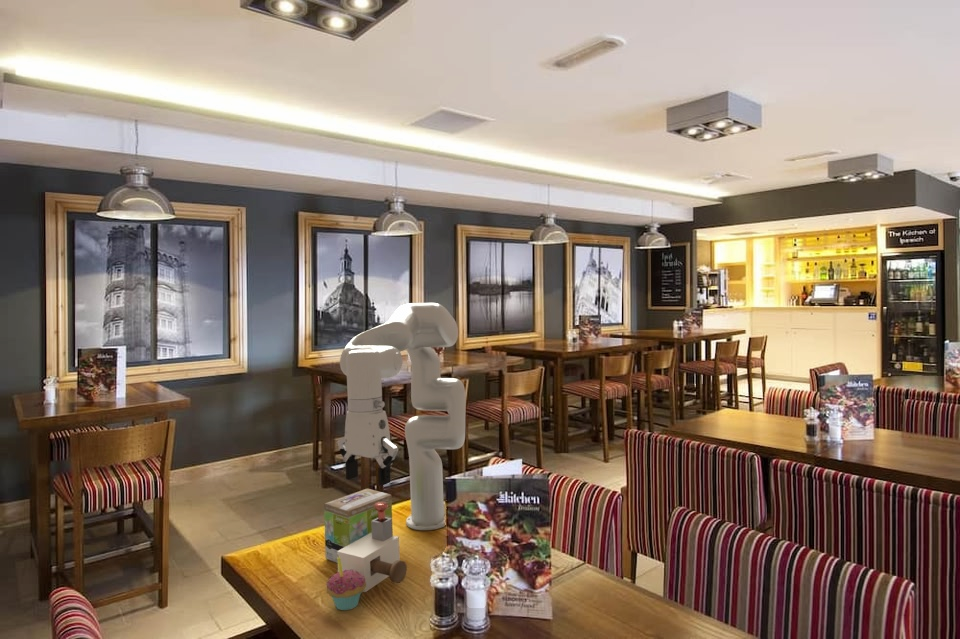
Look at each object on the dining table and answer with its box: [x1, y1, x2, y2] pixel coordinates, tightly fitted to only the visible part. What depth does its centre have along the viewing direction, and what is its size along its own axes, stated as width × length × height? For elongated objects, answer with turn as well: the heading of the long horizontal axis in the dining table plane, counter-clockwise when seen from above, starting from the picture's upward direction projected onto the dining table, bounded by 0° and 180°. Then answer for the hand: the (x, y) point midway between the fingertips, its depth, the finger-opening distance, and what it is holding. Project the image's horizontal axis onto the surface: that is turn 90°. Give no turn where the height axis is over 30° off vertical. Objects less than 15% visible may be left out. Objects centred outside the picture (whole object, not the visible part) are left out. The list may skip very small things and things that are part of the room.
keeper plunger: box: [374, 502, 388, 522], centre depth 150 cm, size 3×3×5 cm
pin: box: [370, 559, 408, 585], centre depth 143 cm, size 13×5×5 cm, turn 60°
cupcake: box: [325, 555, 366, 611], centre depth 134 cm, size 9×8×12 cm
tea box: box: [324, 487, 393, 564], centre depth 160 cm, size 15×10×15 cm, turn 143°
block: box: [337, 517, 401, 593], centre depth 147 cm, size 13×8×12 cm, turn 150°
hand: (368, 481), depth 137 cm, fingers open, 9 cm apart
